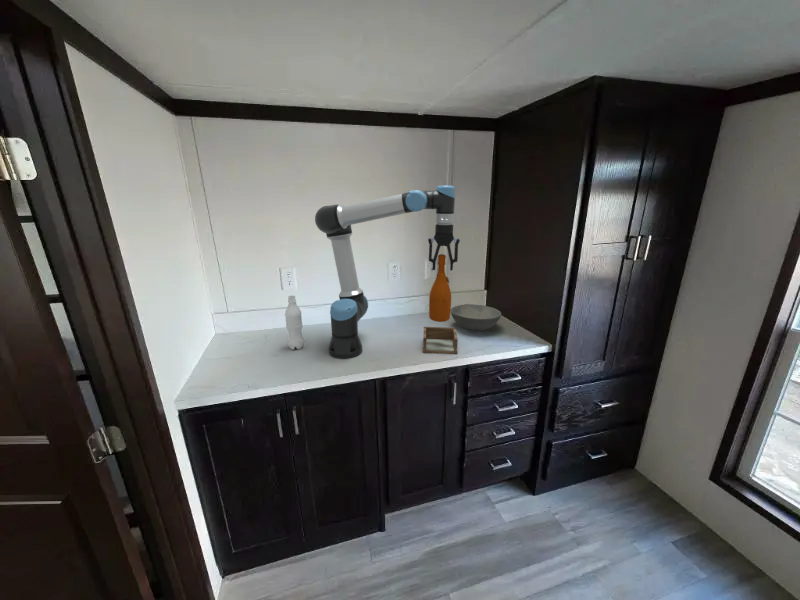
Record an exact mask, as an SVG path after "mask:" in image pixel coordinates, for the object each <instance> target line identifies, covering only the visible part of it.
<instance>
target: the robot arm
mask: <svg viewBox="0 0 800 600" xmlns="http://www.w3.org/2000/svg"><path fill="white" fill-rule="evenodd" d="M455 193H456V187H454V185H437V186H436V189H435V190H419V189H414V190H409V191H408V192H404V193H399V194H398V193H397V194H395V195H391V196H389V195H388V196H386V197H380V198H377V199H373V200H367V201H362V202H359V203H354V204H350V205H342V204H331V205H325V206H321V207H320V208H319V209H318V210H317V211H316V213H315V216H314V222H315V226H316V227H317V229H318V230H319V231H321V233H324V234H326V235H325V236H326V238H327V239H328V240H330V242H331V247H332V251H333V257H334V261H335V267H336V273H337V276H338V282H339V286H340V291H339V294H338V297H339V299H338V300H334V302H332V303H331V304H330V309H329V315H330V324H331V325H330V327H331V339H330V342H329V344H328V345H329V346H328V353H329V355H330V356H331V357H332V358H334V359H335V358H336V359H343V360H344V359H351V358H354V357H357V356H359V355H360V354H362V353H363V343H362V341H361V338H360V337H359V326H358V323H359V322H360V320H361V319H362V318H363V317H364V316H365V315H366V313H367V312H368V308H369V301H368V298H367V297H366V295H365V293H364V290H363V289H362V288H360V286H359V285H360V284H359V280H358V275H357V268H356V264H355V258H354V253H353V249H352V243H351V236H352V235H353V230H352V229H353V228H352V225H356V224H361V223H365V222H371V221H375V220H380V219H386V218H388V217H389V218H390V217H394V216H399V215H404V214H408V213H409V214H410V213H413V212H420V211H422V210H435V223H436V224H435V230H434V232H435V233H434V237H429V238H427V241H428V244H429V246H428V247H429V249H428V262H431V263H432V270H433V271H434V278H435V279H436V278H437V273H438V261H437V259H438V255H439V252H440V250H441V249H440V248H441V247H443V246H444V247H446V249H447V254H448V257H449V262H448V263H447V264H448V267H447V277H448V279H450V277H451V271H453V269H454V263H457V262H458V259H459V257H458V256H459V254H458V253H459V252H458V251H459V244H460V239H459V238H458V237H457V238H456V237H454V225H453V224H454V222H455V221H454V220H455V217H454V216H455V200H456V196H455V195H456V194H455ZM434 242H436V244H437V245H436V249H435V252H434V254H433V244H434ZM452 242H453V243H454V253H453V255H452V250H451V243H452ZM433 255H434V256H433ZM453 256H454V258H453Z"/></svg>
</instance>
